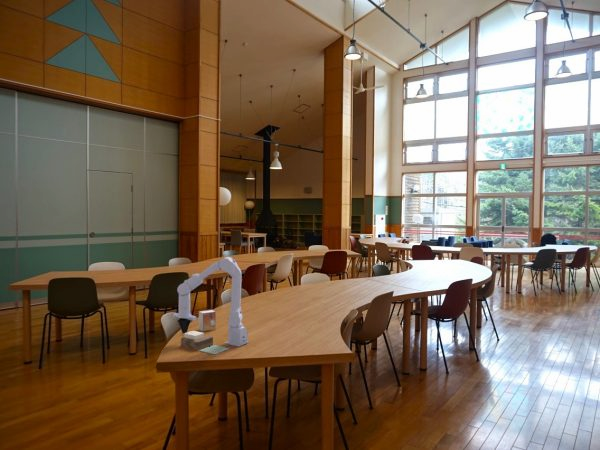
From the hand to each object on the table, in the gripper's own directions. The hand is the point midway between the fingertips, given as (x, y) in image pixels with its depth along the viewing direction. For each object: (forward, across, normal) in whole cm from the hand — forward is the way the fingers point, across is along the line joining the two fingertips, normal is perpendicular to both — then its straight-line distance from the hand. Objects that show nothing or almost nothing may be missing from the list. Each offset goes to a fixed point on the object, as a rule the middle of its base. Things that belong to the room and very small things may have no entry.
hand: (184, 333), depth 217 cm
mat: (+5, -21, +1) cm, 22 cm away
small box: (+5, +7, -24) cm, 26 cm away
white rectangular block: (+1, -7, 0) cm, 7 cm away
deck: (+5, -9, 0) cm, 10 cm away
